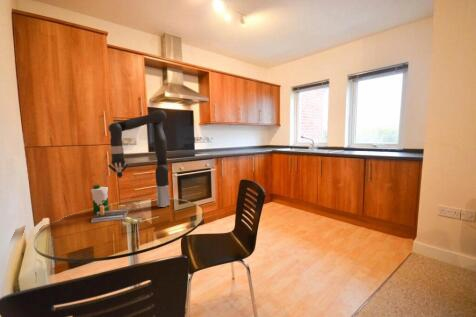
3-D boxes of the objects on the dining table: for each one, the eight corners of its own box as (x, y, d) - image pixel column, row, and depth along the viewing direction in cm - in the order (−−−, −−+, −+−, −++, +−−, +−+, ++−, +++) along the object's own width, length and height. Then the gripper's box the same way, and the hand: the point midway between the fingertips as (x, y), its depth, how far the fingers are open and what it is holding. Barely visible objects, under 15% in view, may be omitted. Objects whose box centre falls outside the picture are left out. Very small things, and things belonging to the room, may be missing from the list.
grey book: (127, 210, 156) (127, 208, 156) (123, 217, 144) (123, 214, 144) (97, 213, 151) (97, 211, 151) (91, 220, 139) (91, 218, 138)
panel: (128, 212, 157) (128, 210, 157) (125, 219, 145) (125, 216, 144) (97, 215, 151) (97, 213, 151) (91, 222, 139) (90, 220, 138)
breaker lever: (106, 214, 148) (106, 205, 147) (105, 215, 145) (104, 206, 145) (99, 214, 147) (98, 205, 146) (98, 216, 144) (97, 207, 143)
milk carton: (99, 209, 162) (97, 184, 159) (111, 209, 161) (109, 184, 159) (91, 214, 153) (88, 187, 150) (103, 214, 153) (101, 187, 150)
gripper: (129, 151, 151) (131, 175, 154) (107, 152, 147) (110, 177, 150) (127, 152, 144) (129, 177, 147) (104, 153, 140) (107, 179, 143)
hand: (120, 177), depth 148 cm, fingers closed
